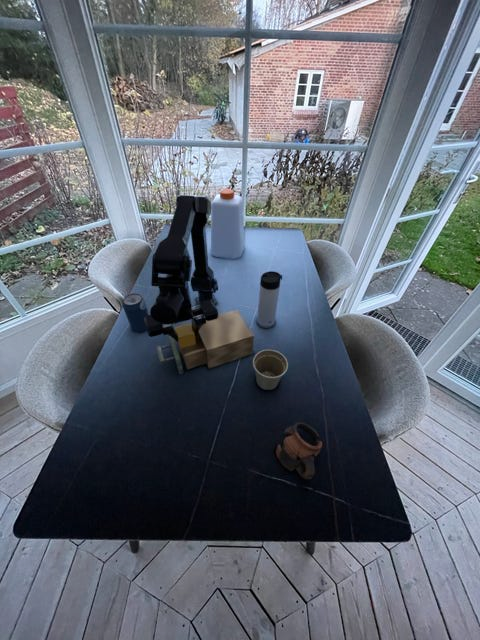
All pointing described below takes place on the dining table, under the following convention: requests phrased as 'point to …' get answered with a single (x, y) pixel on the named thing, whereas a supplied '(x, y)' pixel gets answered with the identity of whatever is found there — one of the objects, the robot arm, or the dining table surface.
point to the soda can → (135, 311)
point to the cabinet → (226, 338)
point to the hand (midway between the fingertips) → (185, 338)
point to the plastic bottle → (227, 225)
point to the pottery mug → (299, 451)
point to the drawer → (185, 354)
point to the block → (185, 335)
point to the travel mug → (268, 298)
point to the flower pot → (269, 368)
